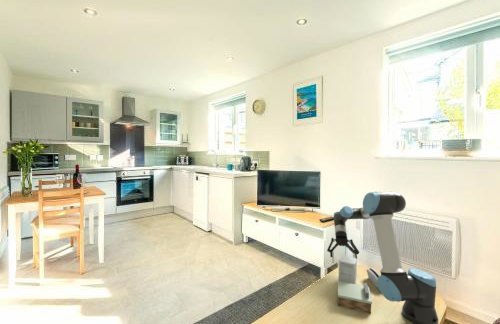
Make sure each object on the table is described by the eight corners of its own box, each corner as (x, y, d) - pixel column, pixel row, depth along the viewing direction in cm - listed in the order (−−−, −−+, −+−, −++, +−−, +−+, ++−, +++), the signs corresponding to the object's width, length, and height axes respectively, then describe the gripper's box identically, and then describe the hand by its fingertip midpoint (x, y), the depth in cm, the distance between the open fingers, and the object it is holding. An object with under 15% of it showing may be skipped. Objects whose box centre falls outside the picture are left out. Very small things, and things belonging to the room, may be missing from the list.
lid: (368, 289, 139) (369, 281, 139) (371, 304, 125) (372, 296, 125) (337, 283, 145) (338, 276, 145) (337, 296, 131) (338, 289, 131)
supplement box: (356, 284, 153) (357, 258, 152) (354, 292, 145) (355, 264, 144) (340, 280, 158) (341, 254, 157) (337, 287, 150) (338, 260, 149)
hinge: (390, 292, 145) (385, 277, 145) (383, 295, 145) (378, 279, 145) (375, 277, 162) (371, 263, 161) (369, 280, 162) (364, 266, 161)
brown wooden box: (367, 298, 139) (368, 289, 139) (370, 313, 126) (371, 304, 126) (338, 292, 145) (338, 283, 144) (338, 306, 132) (338, 297, 131)
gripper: (358, 236, 173) (363, 267, 159) (322, 233, 178) (323, 263, 164) (360, 231, 168) (366, 263, 154) (323, 229, 172) (325, 259, 158)
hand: (344, 263), depth 159 cm, fingers open, 13 cm apart
